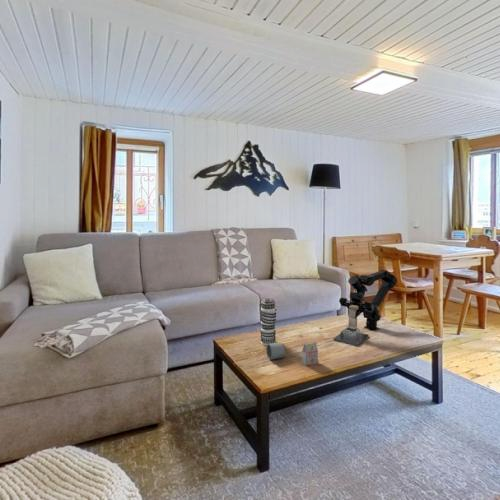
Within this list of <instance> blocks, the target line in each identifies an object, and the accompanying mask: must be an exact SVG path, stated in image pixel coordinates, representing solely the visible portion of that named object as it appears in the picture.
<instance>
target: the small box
mask: <svg viewBox="0 0 500 500" xmlns="http://www.w3.org/2000/svg"><path fill="white" fill-rule="evenodd" d="M318 363H319V351H318V346H317V341H315V342H310V343H305V344H303V347H302V350H301V364H303V365H304V366H306V367H307V366H312V365H316V364H318Z"/></svg>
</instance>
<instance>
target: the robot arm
mask: <svg viewBox="0 0 500 500" xmlns="http://www.w3.org/2000/svg"><path fill="white" fill-rule="evenodd" d="M379 280H381V286H380V288H379V289H378V291H377V293H376V294H375V296H374V297H373V299H372V301H371V302H370V301H367V300H366V301H364V300H365V298H364V297H365V294H366V292H368V288H367V287H371V286H372V285H374V284H375V282H376V281H379ZM347 282H348V284H349V285H350V286H351V288H352V289H354V292H353V291H350V293H349V298H350V300H349V299H348V298H347V297H346V298H345V297H340V298H339V300H338V302H339V304H340V306H342V307H345V308H347V316H348V317H349V306H351V305H354V306H358V307H357V312H356V315H355V318H357V319H358V317H359V316H360V315H363V318H365V319H366V322H365V323H366V324H365V326H364V327H363V328H364V329H366V330H370V331H372V332H373V331H376V330H379V329H380V327H378V322H380V321H381V318H382V317H381V315H380V313H379V312H380V310H379V308H380V305H381V303H383V301H384V299H385V297H386V296H387V294H388V292H389V290H391V289H393V288H394V287H395V286H396V284H397V283H398V278H397V277H396V276H395V275H394V274H392V273H391V272H390V271H388V270H387V269H386V270H385V269H380V270H378V271H376V272H373V273H371V274H361V275H360V276H359V275H358V274H354V275H353V276H351V277H349V278H348V281H347ZM363 301H364V303H363Z"/></svg>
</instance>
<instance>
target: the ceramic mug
mask: <svg viewBox="0 0 500 500" xmlns="http://www.w3.org/2000/svg"><path fill="white" fill-rule="evenodd" d="M265 352H266V356H267V358H268V360H270V361H271V360H276V359H283V358H285V356H286V353H287V350H286V346H285V344H284V343H281V342H278V343H277V342H276V343H272V344H268V345H267V346H266V351H265Z"/></svg>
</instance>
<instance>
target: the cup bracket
mask: <svg viewBox="0 0 500 500" xmlns="http://www.w3.org/2000/svg"><path fill="white" fill-rule="evenodd" d="M360 330H361V328H359V327H358V328H357V327H356V328H355V329H352V328H348V326H345V328H343V330H341V331H340V333H339V334H337V335H336V336H334V338H333V341H334V342H339V343H343V344H346V345H350V346H354V347H359V346H360V345H361V344H362V343H363V342H364V341H365V340H366V339H367V338H369V336H370V335H369V334H367V333H364V332H360Z"/></svg>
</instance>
